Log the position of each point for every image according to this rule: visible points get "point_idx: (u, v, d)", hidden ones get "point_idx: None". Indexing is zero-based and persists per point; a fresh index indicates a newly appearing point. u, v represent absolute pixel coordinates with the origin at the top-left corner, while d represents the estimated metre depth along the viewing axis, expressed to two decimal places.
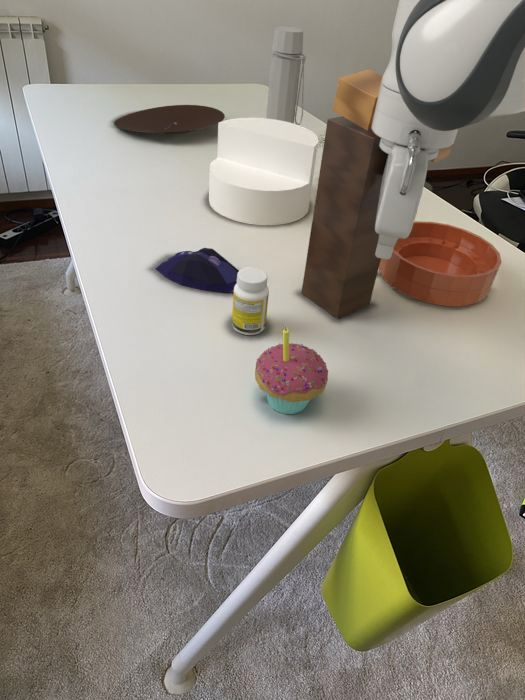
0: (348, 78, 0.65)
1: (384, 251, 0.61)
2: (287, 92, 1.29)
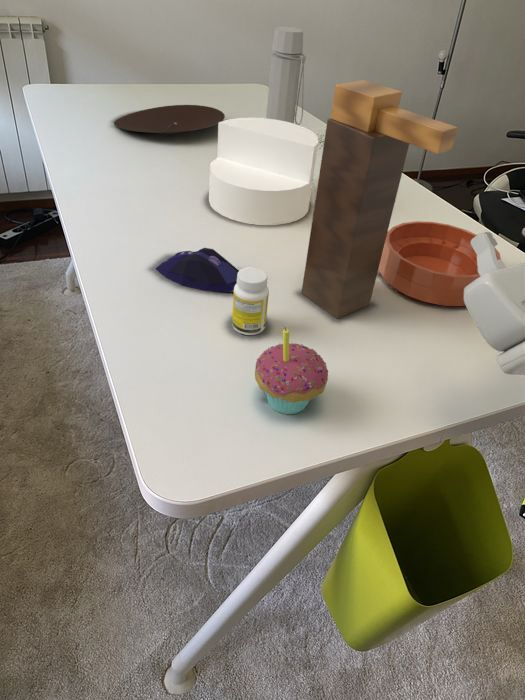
0: (345, 85, 0.66)
1: None
2: (287, 92, 1.29)
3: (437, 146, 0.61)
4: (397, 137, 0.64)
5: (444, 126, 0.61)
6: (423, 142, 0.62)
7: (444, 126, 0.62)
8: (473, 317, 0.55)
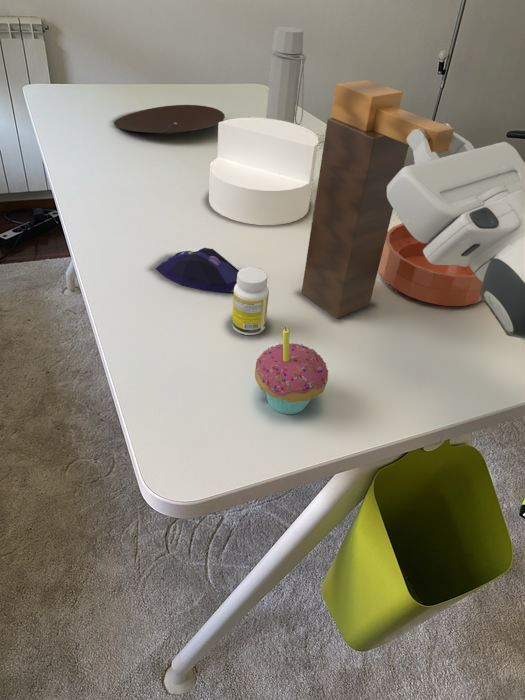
0: (345, 84, 0.67)
1: None
2: (287, 92, 1.29)
3: (431, 147, 0.61)
4: (394, 137, 0.64)
5: (440, 127, 0.61)
6: None
7: (440, 126, 0.61)
8: (397, 212, 0.57)
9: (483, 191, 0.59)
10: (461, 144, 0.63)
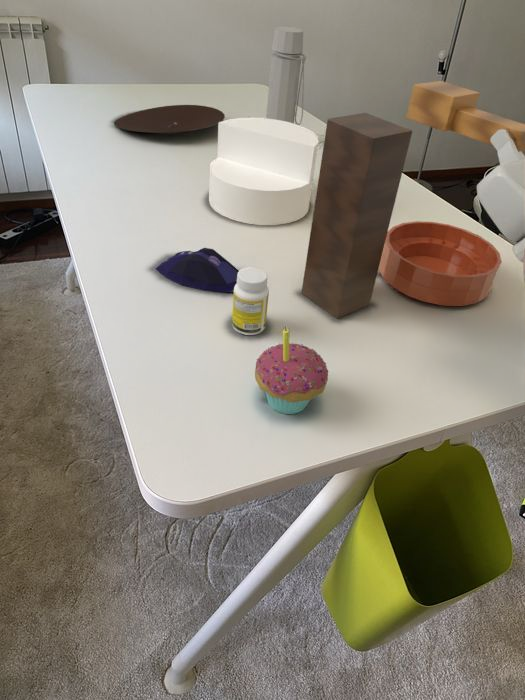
0: (423, 85, 0.68)
1: None
2: (287, 92, 1.29)
3: None
4: (474, 137, 0.65)
5: (524, 127, 0.62)
6: None
7: (523, 126, 0.62)
8: (488, 211, 0.58)
9: None
10: None
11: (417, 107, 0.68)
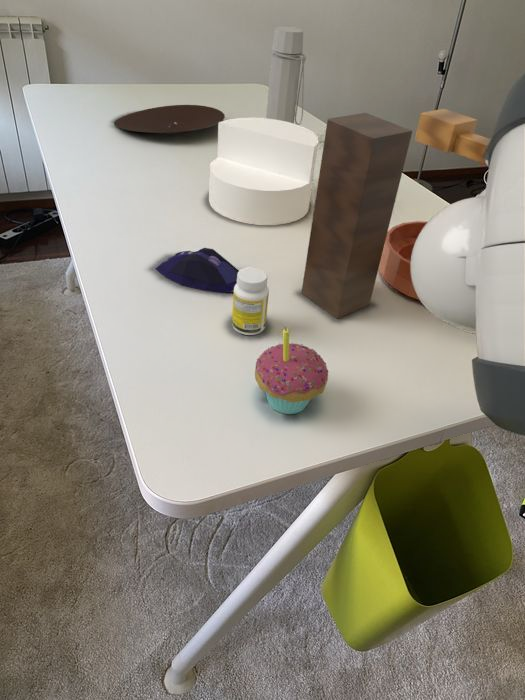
0: (429, 113, 0.80)
1: None
2: (287, 92, 1.29)
3: None
4: (472, 158, 0.77)
5: None
6: None
7: None
8: None
9: None
10: None
11: (424, 132, 0.80)
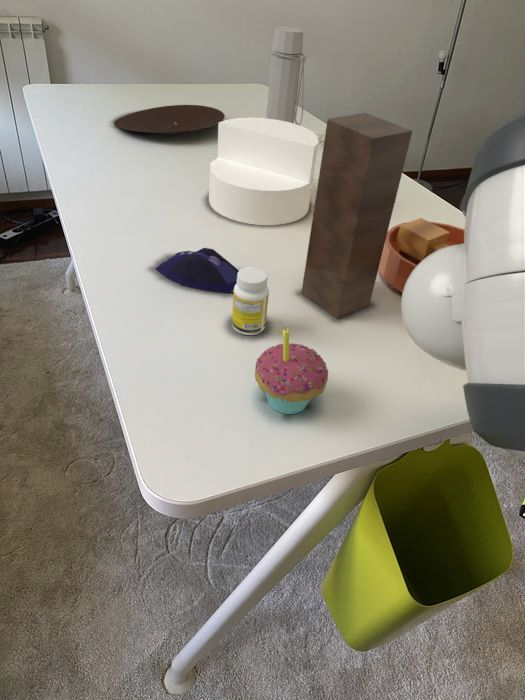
0: (407, 226, 0.90)
1: None
2: (287, 92, 1.29)
3: None
4: None
5: None
6: None
7: None
8: None
9: None
10: None
11: (403, 241, 0.91)
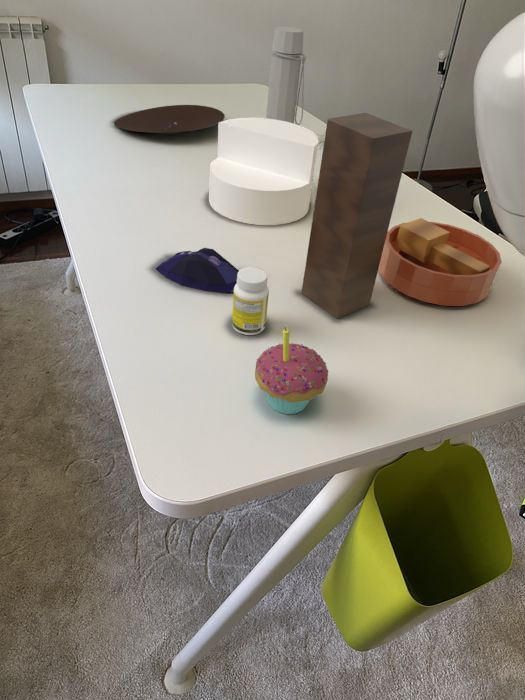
0: (407, 226, 0.90)
1: None
2: (287, 92, 1.29)
3: None
4: (445, 268, 0.88)
5: (480, 265, 0.84)
6: None
7: (480, 265, 0.85)
8: None
9: None
10: None
11: (403, 241, 0.91)
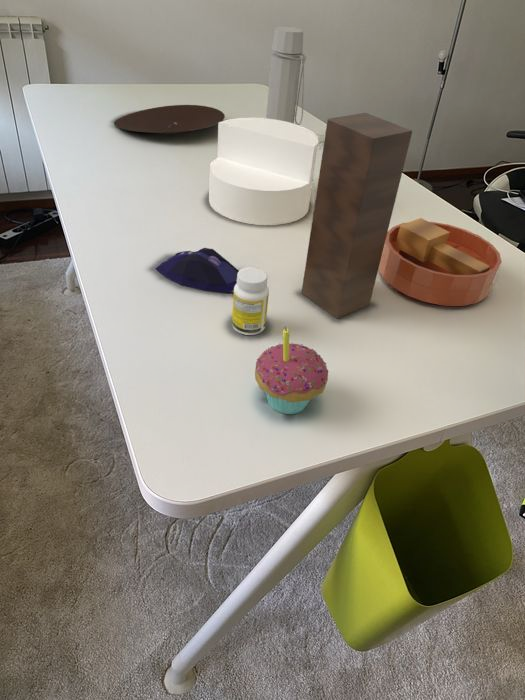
0: (407, 226, 0.90)
1: None
2: (287, 92, 1.29)
3: None
4: (445, 268, 0.88)
5: (480, 265, 0.84)
6: None
7: (480, 265, 0.85)
8: None
9: None
10: None
11: (403, 241, 0.91)
